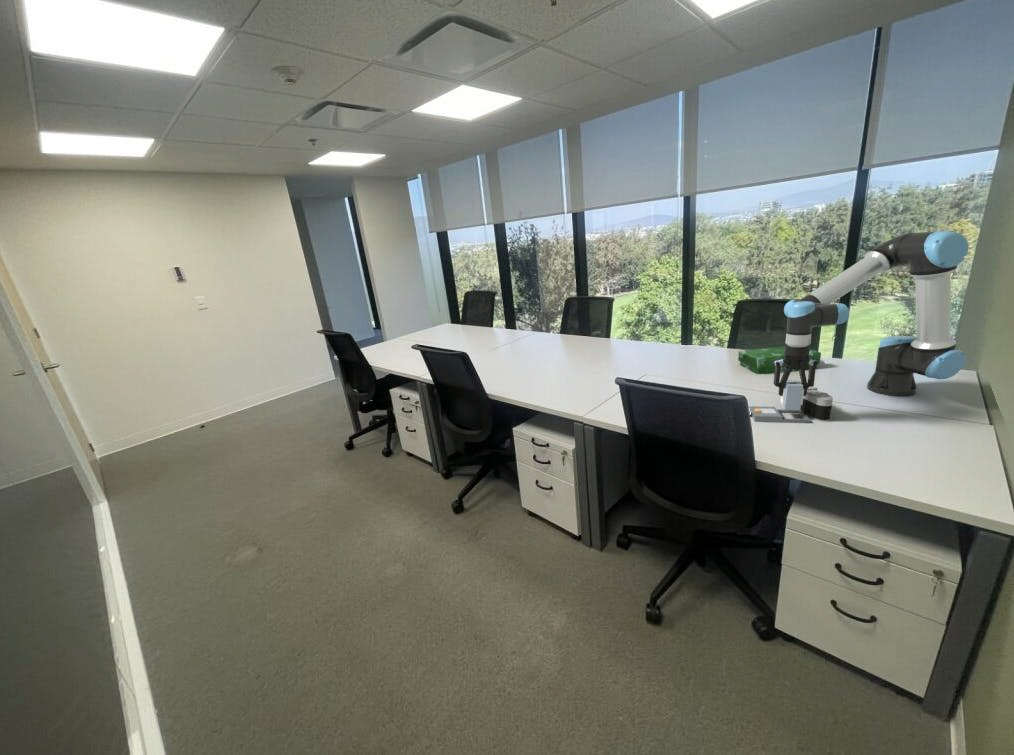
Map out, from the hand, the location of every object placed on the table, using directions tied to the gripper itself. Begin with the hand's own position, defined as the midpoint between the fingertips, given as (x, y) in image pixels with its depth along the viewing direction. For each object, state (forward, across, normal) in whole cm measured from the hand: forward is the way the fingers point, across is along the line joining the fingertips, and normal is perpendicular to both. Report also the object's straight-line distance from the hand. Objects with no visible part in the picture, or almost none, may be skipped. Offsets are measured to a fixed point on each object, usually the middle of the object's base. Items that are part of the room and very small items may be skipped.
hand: (791, 403), depth 155 cm
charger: (+2, 0, -1) cm, 2 cm away
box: (+6, -12, -62) cm, 64 cm away
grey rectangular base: (+6, +4, 0) cm, 7 cm away
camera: (+6, -8, -8) cm, 13 cm away
